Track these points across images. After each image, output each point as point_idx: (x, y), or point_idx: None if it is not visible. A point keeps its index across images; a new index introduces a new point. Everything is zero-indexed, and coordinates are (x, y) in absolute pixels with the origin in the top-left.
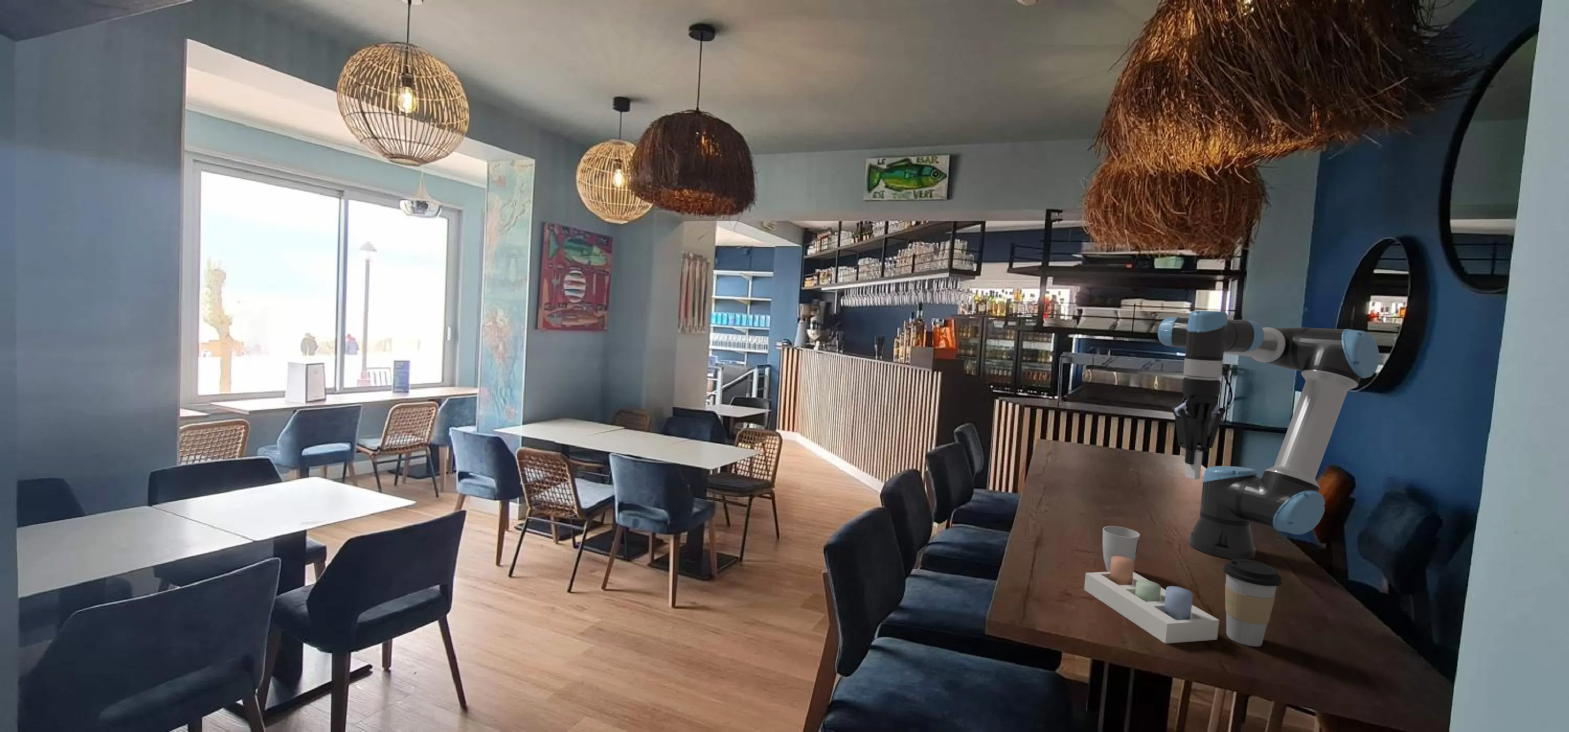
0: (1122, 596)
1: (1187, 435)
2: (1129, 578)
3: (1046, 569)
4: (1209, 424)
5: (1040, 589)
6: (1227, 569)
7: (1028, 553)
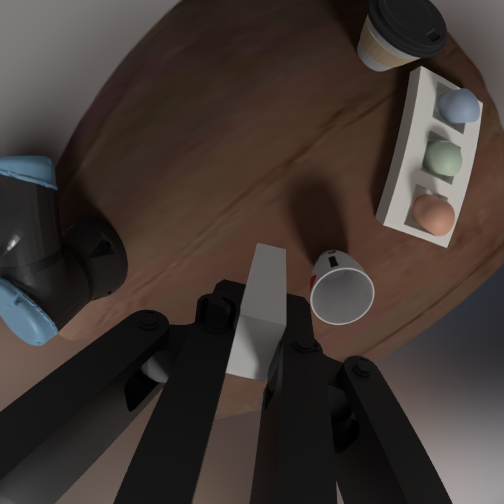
0: (469, 174)
1: (399, 440)
2: (433, 196)
3: (416, 302)
4: (61, 471)
5: (471, 261)
6: (443, 46)
7: (385, 345)
